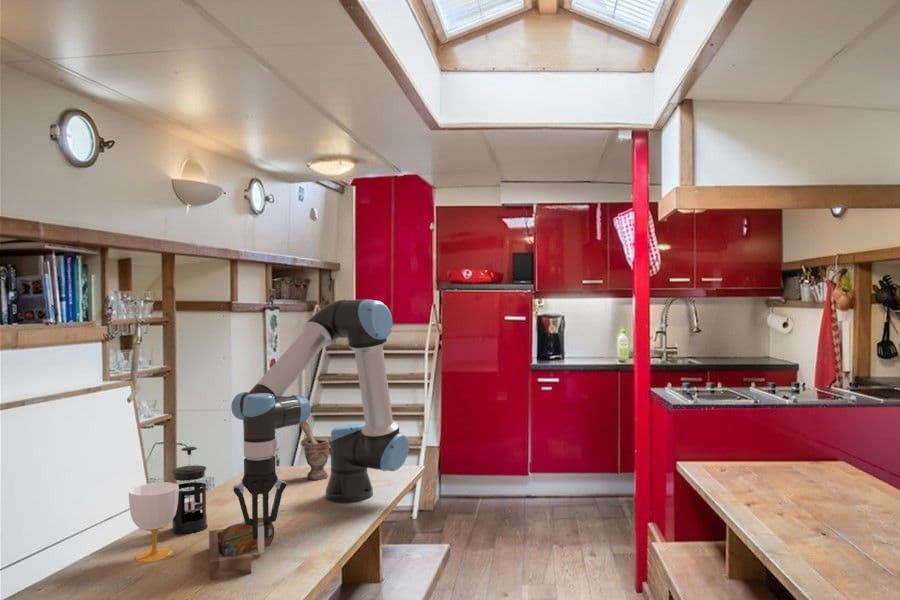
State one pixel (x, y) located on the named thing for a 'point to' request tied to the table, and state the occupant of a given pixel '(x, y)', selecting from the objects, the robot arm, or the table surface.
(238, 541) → the tin
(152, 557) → the cup
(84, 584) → the table surface
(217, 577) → the shelf
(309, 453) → the mortar and pestle
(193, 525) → the french press
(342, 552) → the table surface
